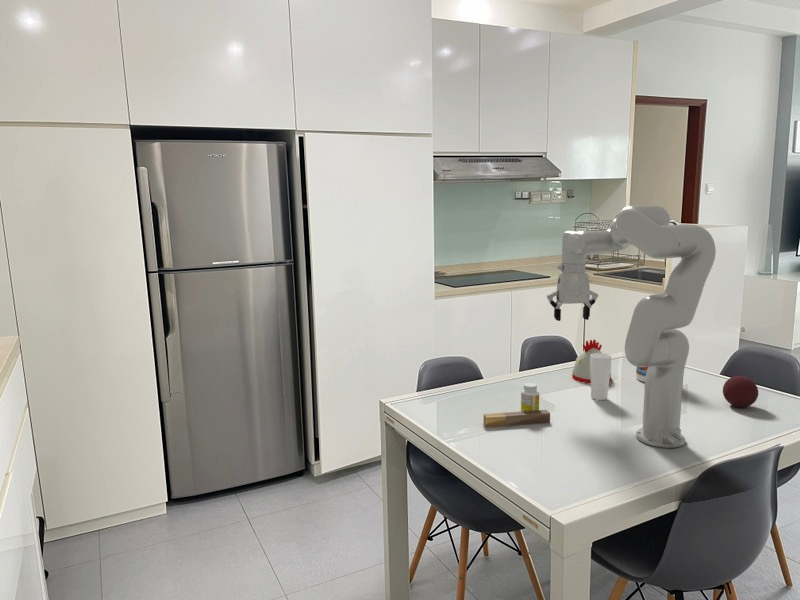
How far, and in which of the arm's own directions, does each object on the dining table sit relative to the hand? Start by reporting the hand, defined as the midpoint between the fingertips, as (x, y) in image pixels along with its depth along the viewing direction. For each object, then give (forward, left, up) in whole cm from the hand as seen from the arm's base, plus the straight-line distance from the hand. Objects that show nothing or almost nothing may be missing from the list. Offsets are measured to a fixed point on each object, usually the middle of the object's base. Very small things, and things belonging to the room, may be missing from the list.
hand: (571, 319), depth 199 cm
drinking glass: (-2, -10, -27) cm, 29 cm away
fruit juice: (+14, -38, -28) cm, 49 cm away
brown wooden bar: (-19, +25, -27) cm, 42 cm away
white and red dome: (+20, -18, -28) cm, 38 cm away
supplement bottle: (-14, +19, -28) cm, 36 cm away
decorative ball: (-18, -50, -28) cm, 60 cm away
